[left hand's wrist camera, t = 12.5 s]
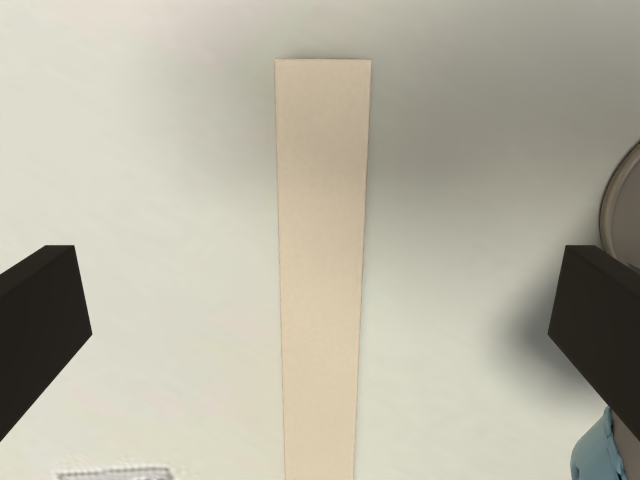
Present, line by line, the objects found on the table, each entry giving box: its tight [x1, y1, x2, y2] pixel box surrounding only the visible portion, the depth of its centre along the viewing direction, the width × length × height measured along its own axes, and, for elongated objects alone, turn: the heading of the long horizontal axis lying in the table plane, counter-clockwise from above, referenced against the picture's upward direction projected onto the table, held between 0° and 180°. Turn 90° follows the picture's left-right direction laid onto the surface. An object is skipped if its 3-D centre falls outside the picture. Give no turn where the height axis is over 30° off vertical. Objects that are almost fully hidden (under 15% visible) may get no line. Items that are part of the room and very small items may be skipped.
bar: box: [274, 58, 372, 480], centre depth 41 cm, size 67×6×8 cm, turn 0°
